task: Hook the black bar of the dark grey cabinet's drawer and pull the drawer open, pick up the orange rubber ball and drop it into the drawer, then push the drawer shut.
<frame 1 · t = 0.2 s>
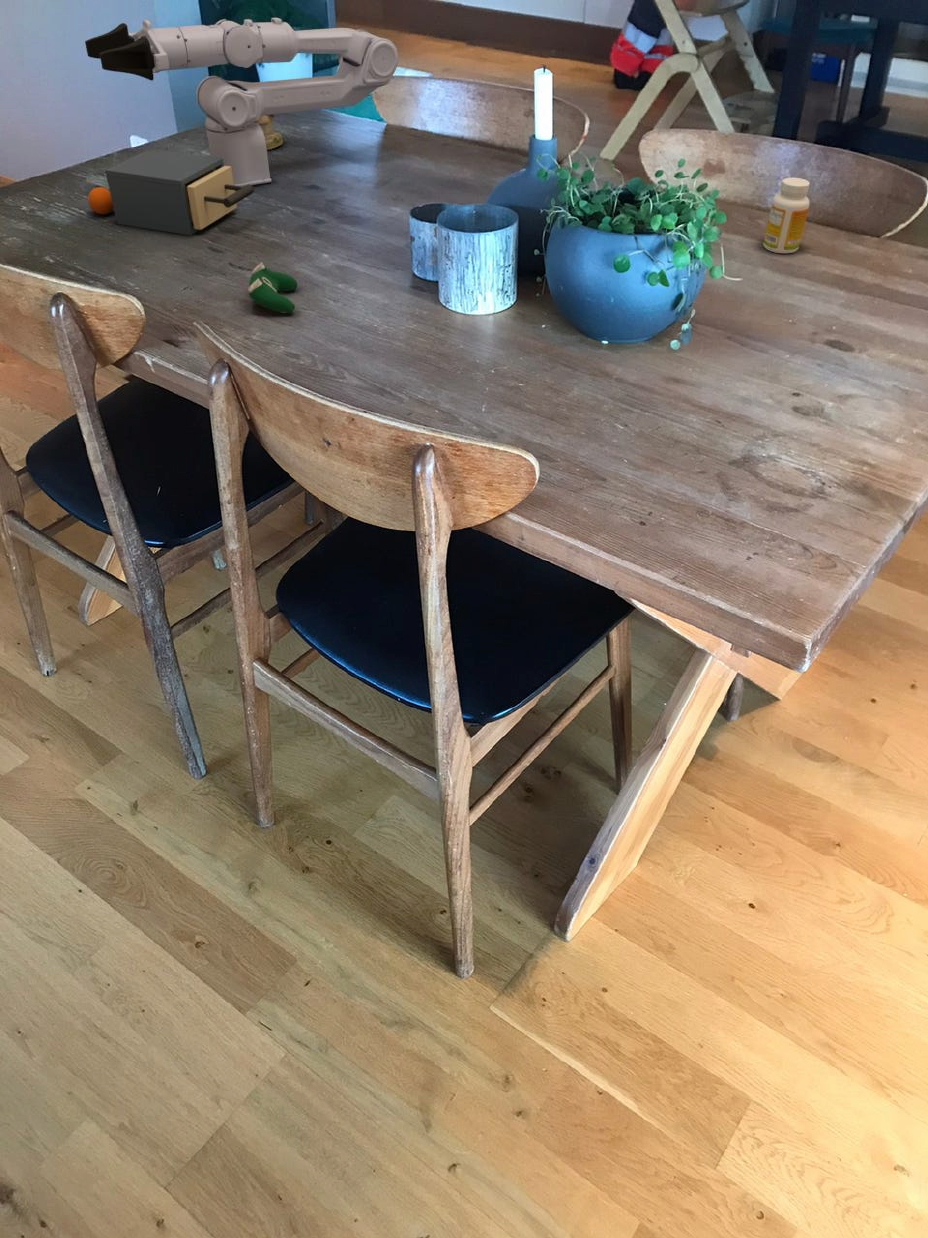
hand: (93, 54, 142), 21 cm above the table, tool horizontal, fingers open, 7 cm apart
green fabric slippers: (274, 303, 127), on the table
drawer: (195, 194, 147), point 4 cm above the table, slide at 0.5 cm
ceramic model: (253, 142, 182), on the table
ball: (101, 200, 150), point 2 cm above the table
supplement bottle: (780, 248, 144), on the table
cabinet: (175, 216, 151), on the table
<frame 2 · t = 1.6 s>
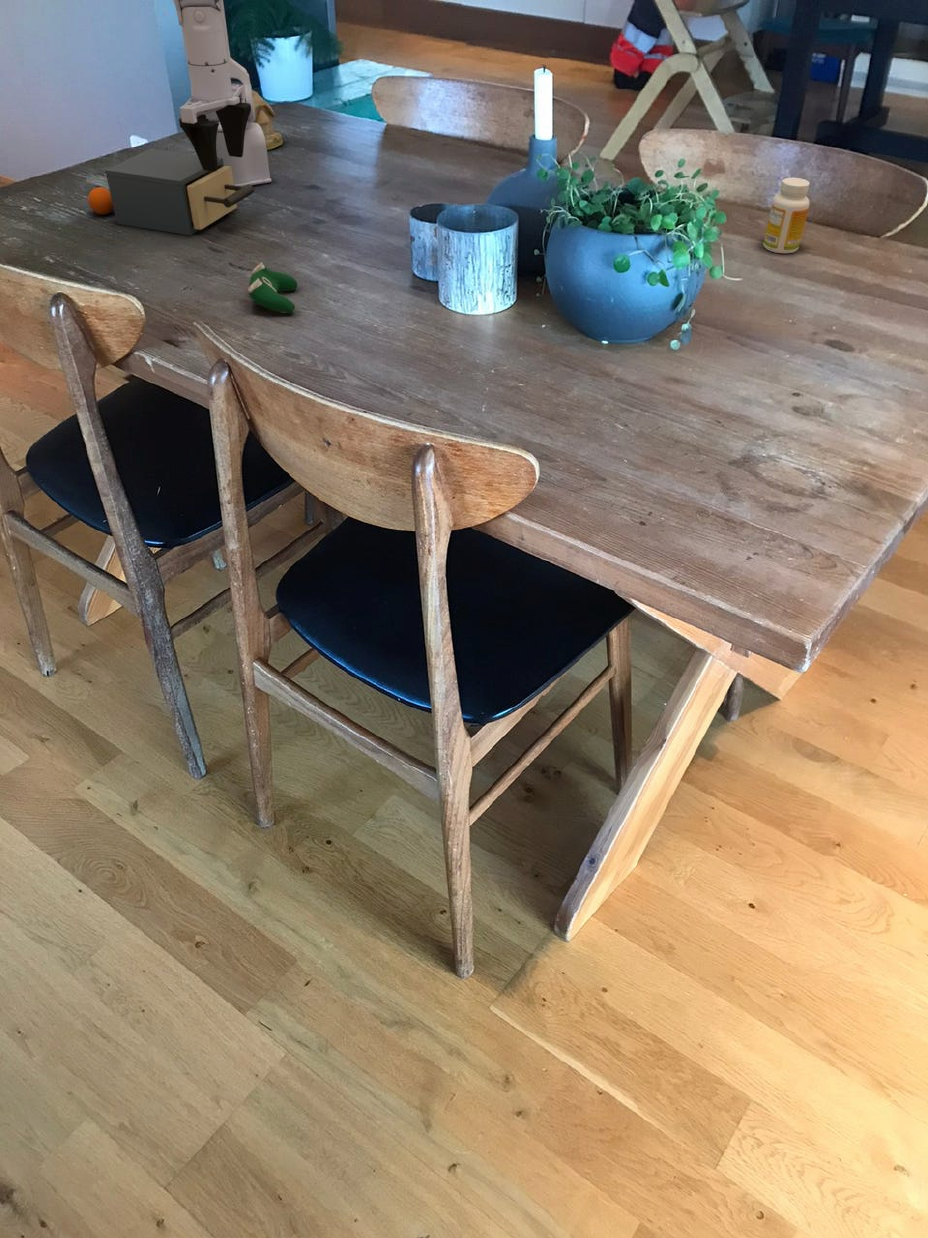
hand: (223, 162, 142), 9 cm above the table, tool pointing down, fingers open, 7 cm apart
nothing on the table moved.
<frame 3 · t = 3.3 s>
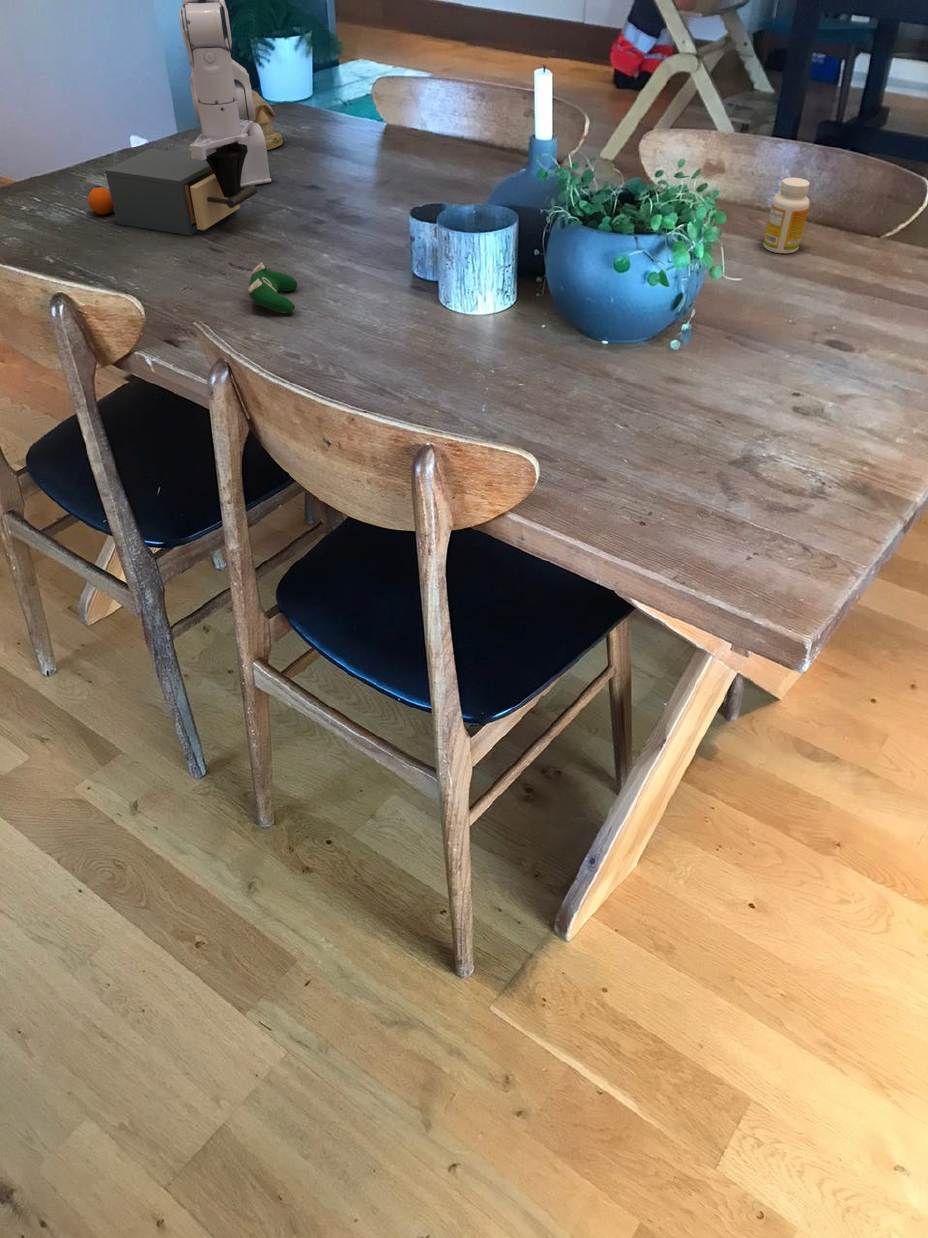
hand: (231, 196, 145), 5 cm above the table, tool pointing down, fingers closed
drawer: (198, 194, 147), point 4 cm above the table, slide at 1.1 cm
everything else where it was.
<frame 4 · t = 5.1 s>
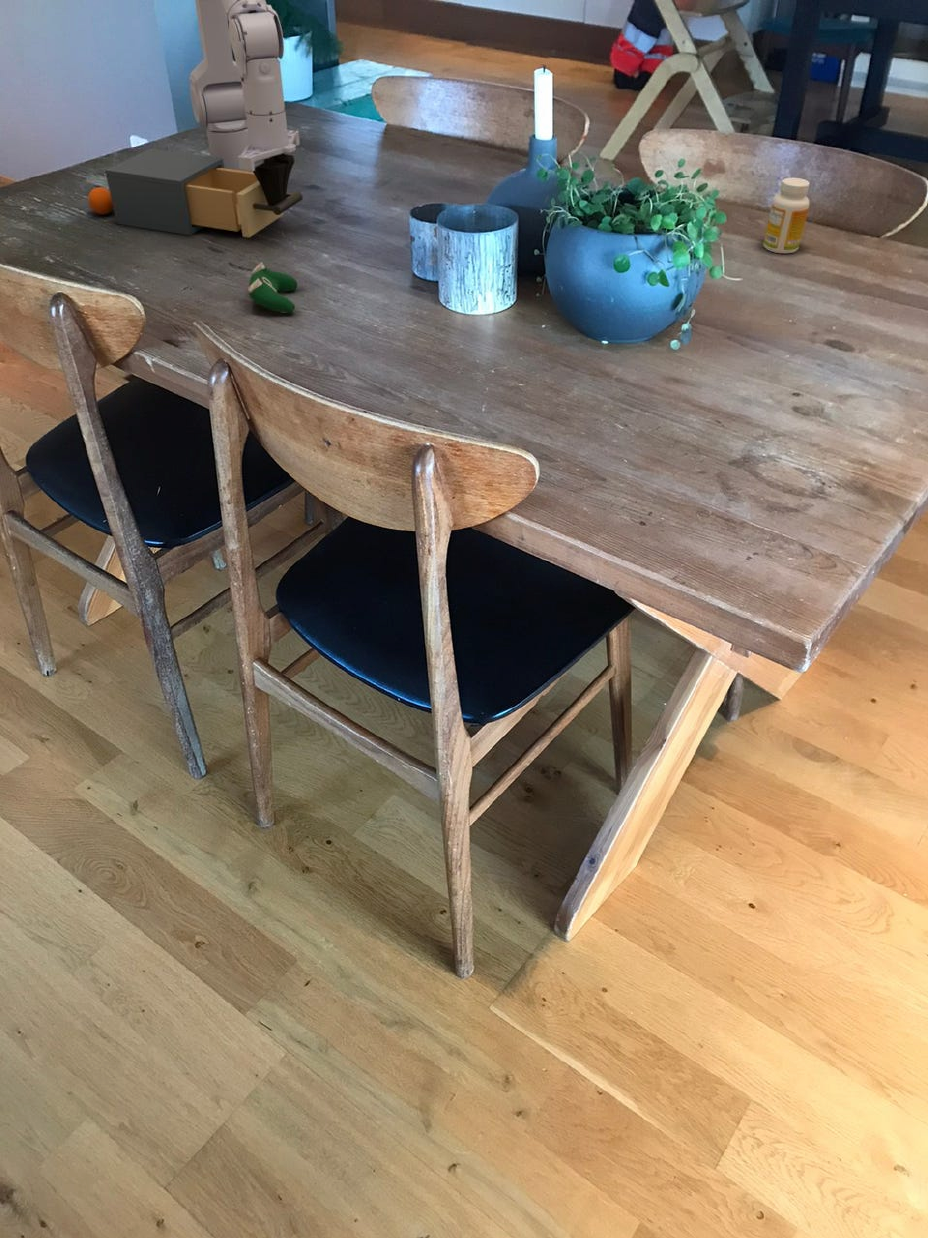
hand: (277, 207, 143), 4 cm above the table, tool pointing down, fingers closed, pressing on drawer
drawer: (243, 201, 145), point 4 cm above the table, slide at 9.1 cm, touching gripper
everything else where it was.
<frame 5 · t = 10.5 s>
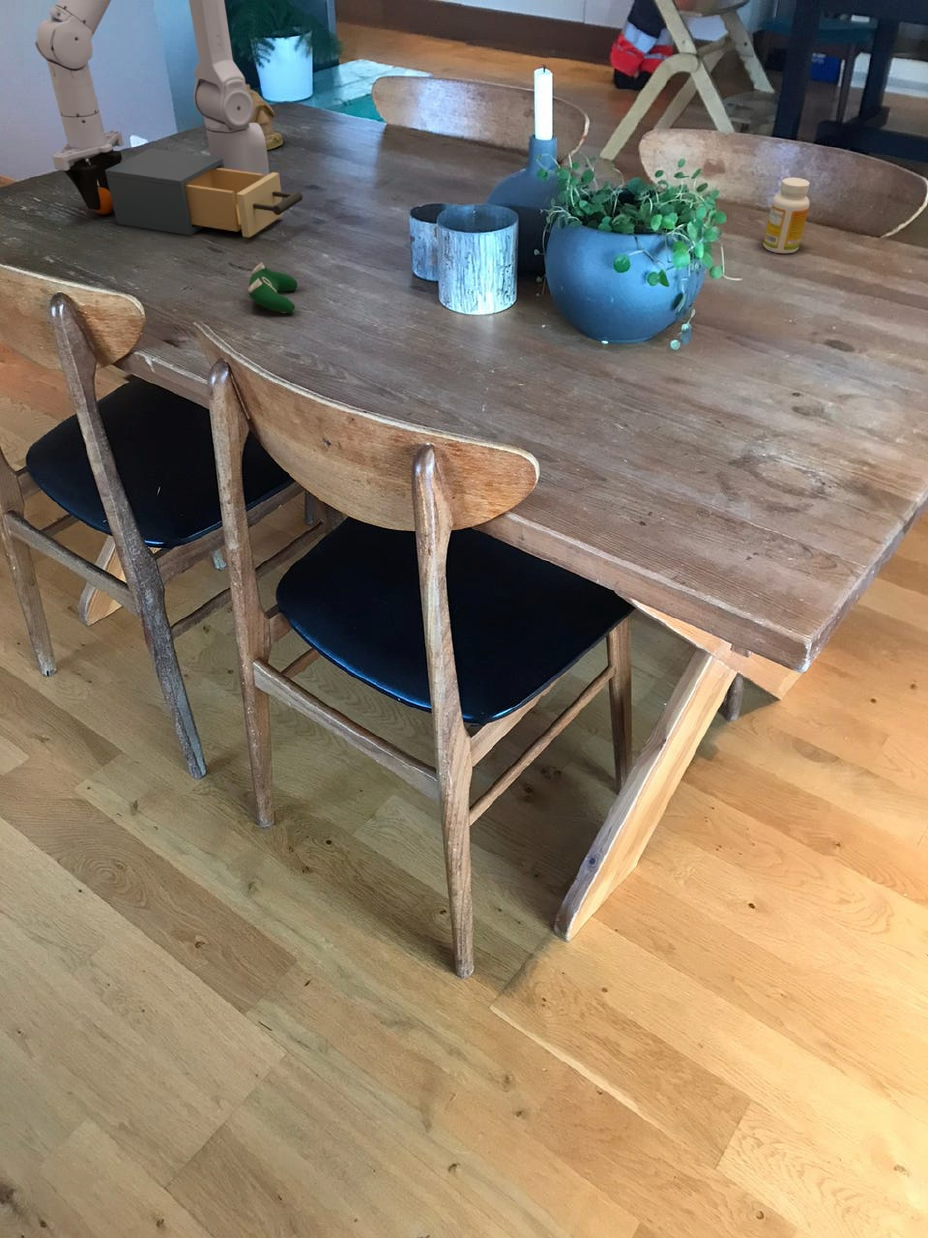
hand: (102, 204, 151), 1 cm above the table, tool pointing down, fingers closed on ball, 4 cm apart
drawer: (243, 201, 145), point 4 cm above the table, slide at 9.1 cm
ball: (101, 200, 150), point 2 cm above the table, touching gripper
everything else where it was.
when the fingers open (6 cm above the table, at t = 15.5 s): ball drops 3 cm, resting on drawer.
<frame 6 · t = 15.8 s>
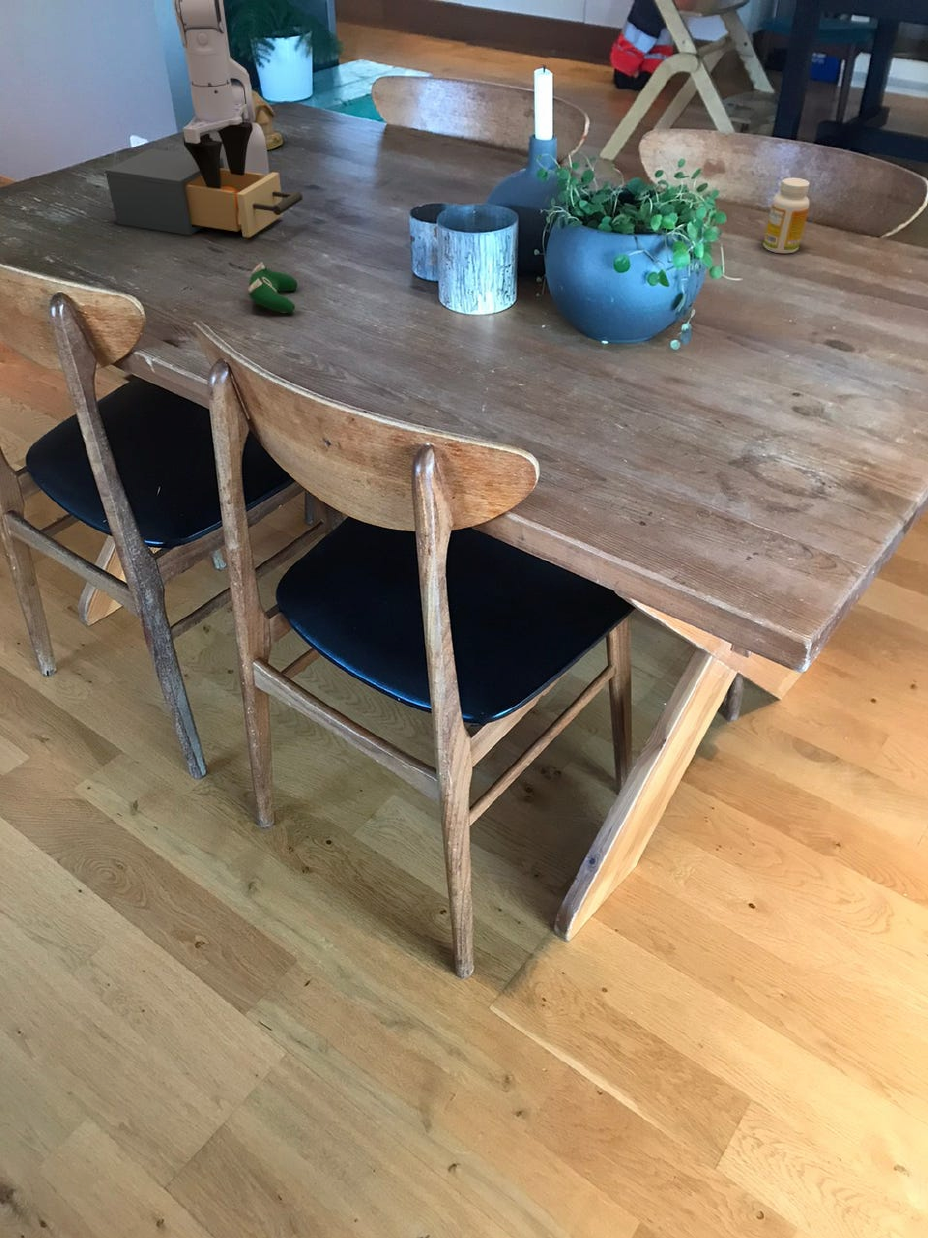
hand: (226, 180, 144), 7 cm above the table, tool pointing down, fingers open, 6 cm apart
drawer: (243, 201, 145), point 4 cm above the table, slide at 9.1 cm, touching ball, gripper
ball: (228, 200, 145), point 4 cm above the table, tilted 8°, touching drawer
everything else where it was.
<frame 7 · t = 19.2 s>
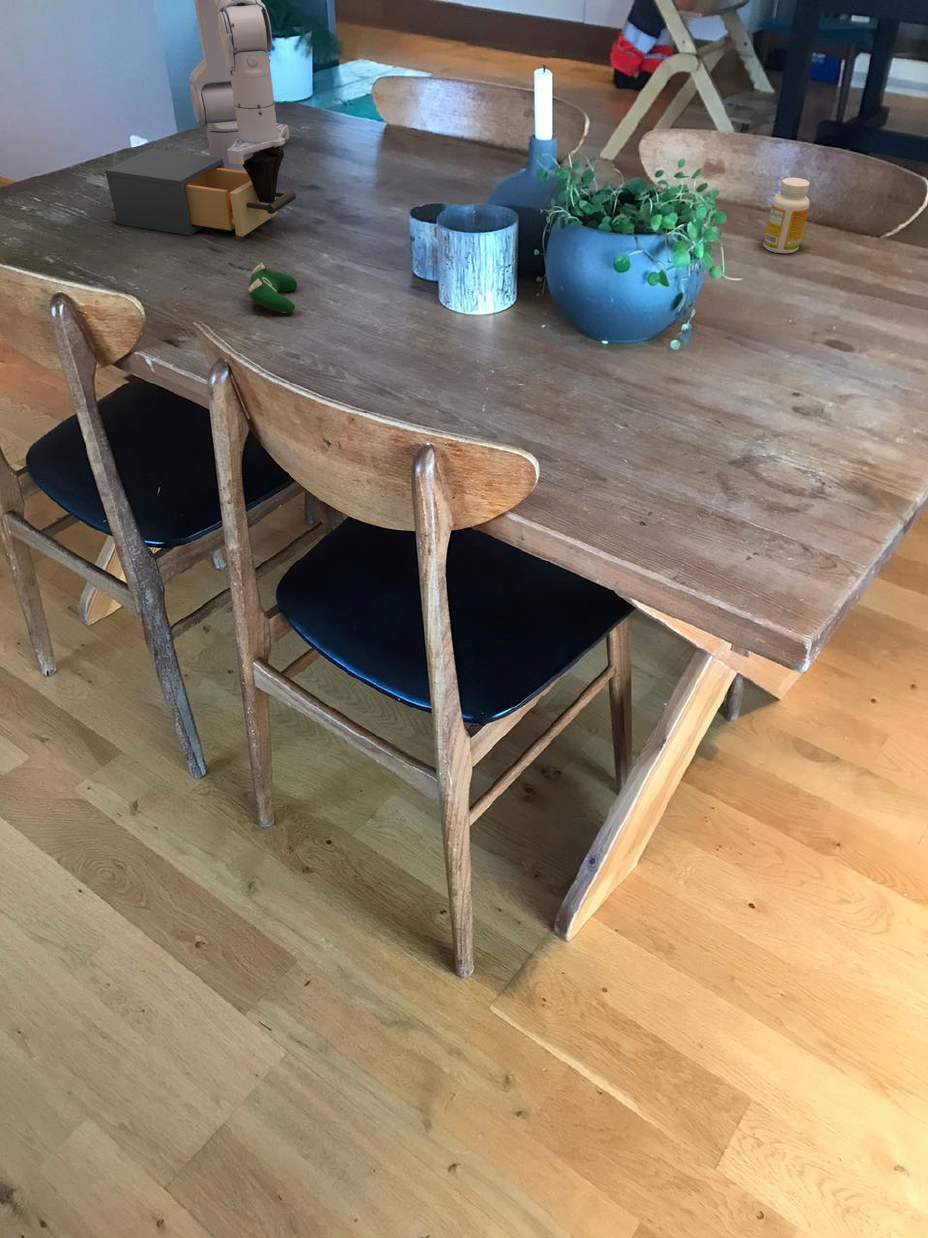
hand: (267, 201, 143), 5 cm above the table, tool pointing down, fingers closed, pressing on drawer
drawer: (236, 200, 145), point 4 cm above the table, slide at 8.0 cm, touching ball, gripper
ball: (221, 203, 144), point 4 cm above the table, tilted 55°, touching drawer
everything else where it was.
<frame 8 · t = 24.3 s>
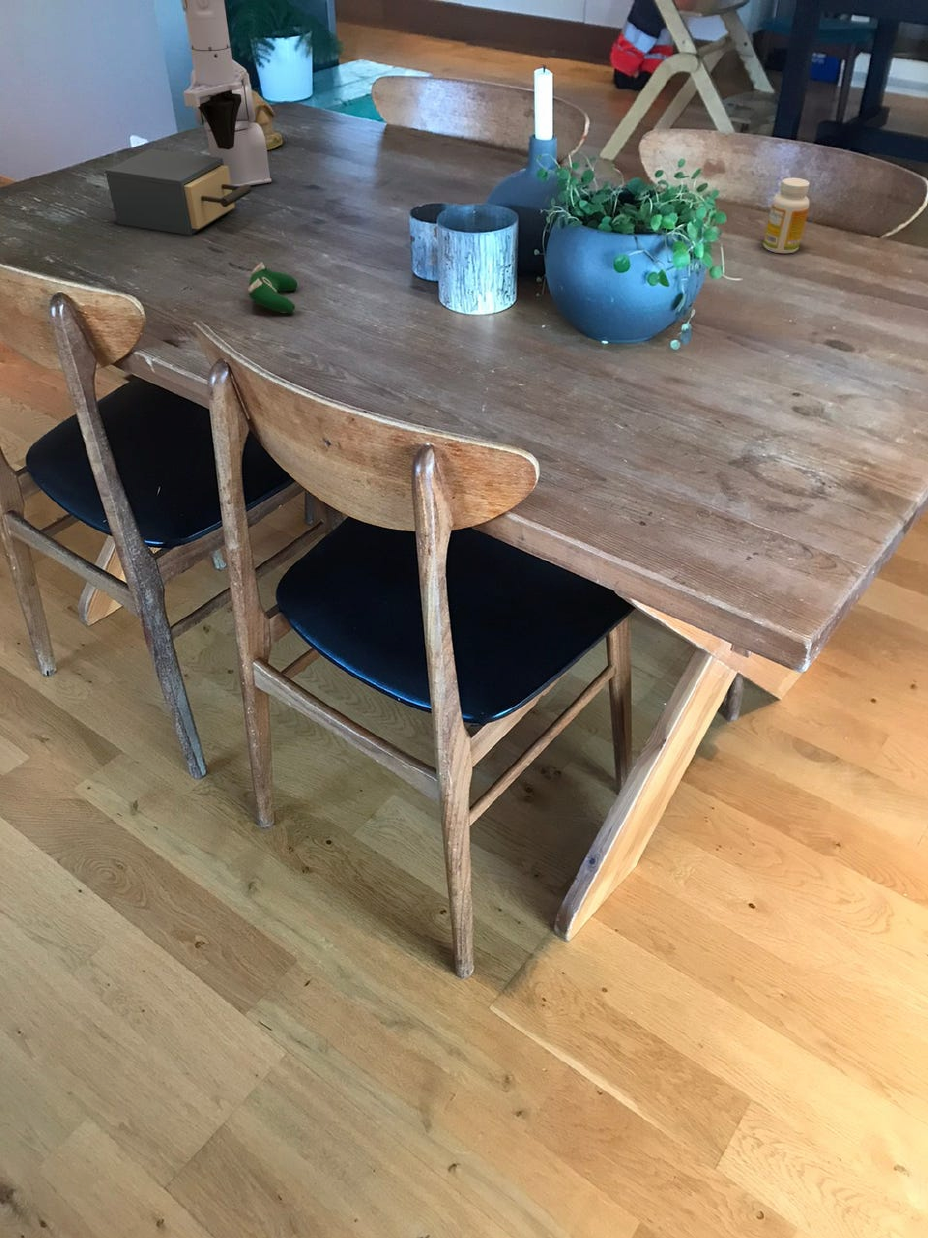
hand: (225, 147, 144), 10 cm above the table, tool pointing down, fingers closed
drawer: (192, 194, 147), point 4 cm above the table, slide at 0.0 cm, touching ball, cabinet
ball: (166, 194, 147), point 4 cm above the table, tilted 62°, touching drawer
everything else where it was.
at the end: drawer pulled out 9.1 cm at the most during the clip, back to where it started at the end; ball inside the target area in the cabinet (1.5 cm from its centre), point 4.0 cm above the cabinet's base; drawer slide at 0.0 cm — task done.
